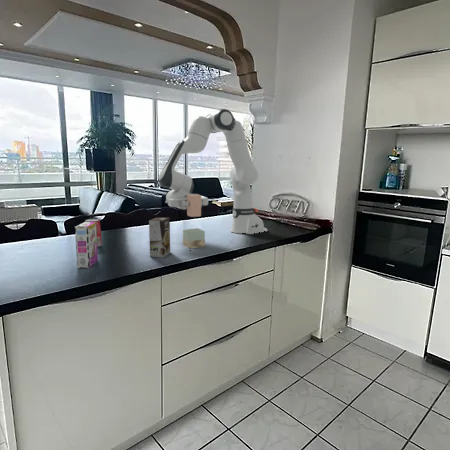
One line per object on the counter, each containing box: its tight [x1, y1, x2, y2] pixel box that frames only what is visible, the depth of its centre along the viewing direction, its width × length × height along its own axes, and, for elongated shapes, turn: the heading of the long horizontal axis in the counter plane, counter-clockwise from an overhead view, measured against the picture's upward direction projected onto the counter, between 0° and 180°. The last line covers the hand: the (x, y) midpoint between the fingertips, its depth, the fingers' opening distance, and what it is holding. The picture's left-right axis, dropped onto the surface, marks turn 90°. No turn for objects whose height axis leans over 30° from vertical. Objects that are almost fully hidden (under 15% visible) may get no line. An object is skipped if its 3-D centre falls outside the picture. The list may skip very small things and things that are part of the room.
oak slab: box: [182, 237, 206, 250], centre depth 164 cm, size 8×8×4 cm
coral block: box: [186, 193, 202, 218], centre depth 161 cm, size 5×5×10 cm
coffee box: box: [148, 217, 171, 259], centre depth 147 cm, size 9×6×16 cm
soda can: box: [84, 218, 103, 248], centre depth 160 cm, size 7×7×13 cm
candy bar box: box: [74, 221, 99, 269], centre depth 132 cm, size 11×5×16 cm, turn 5°
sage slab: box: [182, 227, 206, 241], centre depth 163 cm, size 8×8×4 cm
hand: (194, 203), depth 160 cm, fingers closed on coral block, 5 cm apart
